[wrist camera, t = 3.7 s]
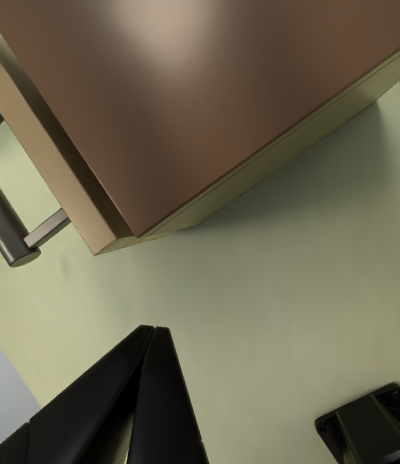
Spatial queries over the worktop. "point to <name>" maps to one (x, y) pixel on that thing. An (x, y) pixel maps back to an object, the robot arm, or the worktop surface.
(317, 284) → the worktop surface
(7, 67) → the drawer
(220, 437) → the worktop surface
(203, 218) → the cabinet
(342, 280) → the worktop surface
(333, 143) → the worktop surface
